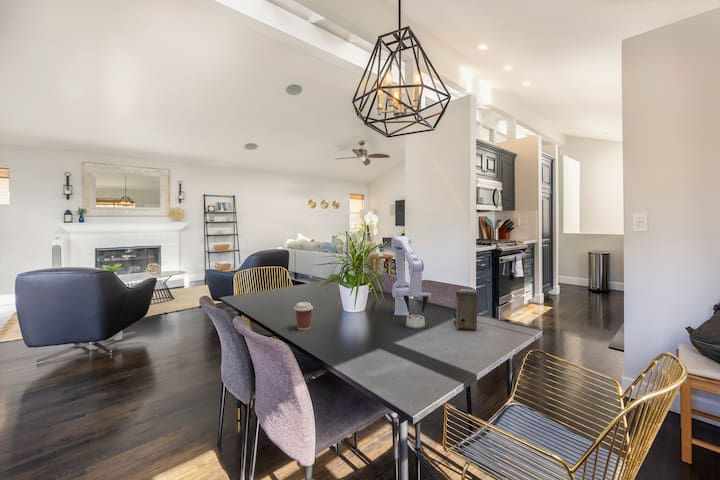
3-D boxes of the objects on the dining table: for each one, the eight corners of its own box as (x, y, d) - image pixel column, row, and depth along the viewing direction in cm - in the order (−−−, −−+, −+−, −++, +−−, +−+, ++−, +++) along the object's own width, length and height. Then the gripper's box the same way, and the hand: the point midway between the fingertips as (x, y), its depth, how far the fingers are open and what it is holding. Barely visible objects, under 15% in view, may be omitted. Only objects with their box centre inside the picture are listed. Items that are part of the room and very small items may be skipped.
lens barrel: (405, 322, 172) (405, 314, 172) (424, 322, 170) (424, 314, 170) (405, 328, 162) (405, 320, 162) (426, 329, 161) (426, 320, 160)
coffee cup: (308, 323, 169) (308, 300, 169) (316, 328, 162) (315, 304, 161) (291, 326, 165) (291, 303, 164) (298, 332, 157) (298, 307, 156)
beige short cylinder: (410, 322, 169) (410, 314, 169) (420, 323, 168) (420, 314, 168) (410, 325, 164) (410, 317, 164) (421, 326, 163) (421, 317, 163)
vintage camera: (470, 321, 173) (470, 284, 173) (477, 330, 158) (477, 289, 157) (451, 321, 174) (451, 284, 174) (457, 330, 159) (456, 289, 158)
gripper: (401, 285, 162) (401, 312, 163) (431, 286, 160) (430, 313, 161) (401, 282, 169) (401, 308, 170) (430, 283, 167) (429, 309, 168)
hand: (415, 311), depth 166 cm, fingers open, 7 cm apart
